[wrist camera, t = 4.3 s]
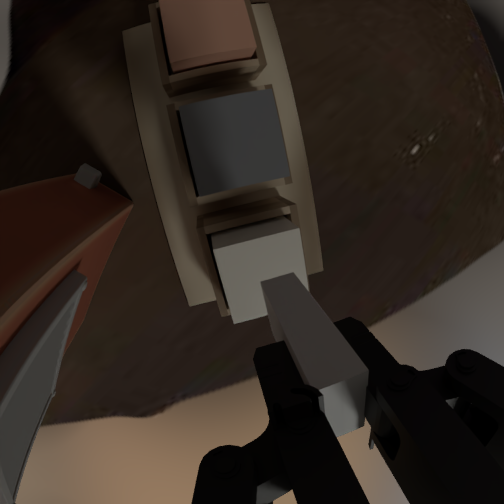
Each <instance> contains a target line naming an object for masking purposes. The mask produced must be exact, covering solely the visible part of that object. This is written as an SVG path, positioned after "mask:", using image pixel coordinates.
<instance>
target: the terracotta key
mask: <svg viewBox="0 0 504 504" xmlns="http://www.w3.org/2000/svg"><path fill="white" fill-rule="evenodd" d="M159 4H160V10H161V16H162V22H163V28H164V33H165V39H166V44H167V49H168V55H169V60H170V64H171V67H172V70H173V73H174V74H178V73H182V72H186V71H190V70H195V69H199V68H204V67H209V66H214V65H219V64H225V63H231V62H237V61H244V60H250V59H251V57H252V55H253V53H254V51H255V49H256V48H257V46H256V42H255V38H254V34H253V30H252V27H251V23H250V19H249V16H248V12H247V9H246V5H245V2H244V0H159Z"/></svg>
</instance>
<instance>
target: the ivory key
mask: <svg viewBox="0 0 504 504" xmlns="http://www.w3.org/2000/svg"><path fill="white" fill-rule="evenodd" d="M211 238H212V245H213V251H214V255H215V258H216V262H217V266H218V269H219V273H220V277H221V280H222V284H223V287H224V291H225V294H226V298H227V301H228V305H229V308H230V312H231V315H232V319H233V322H234V324H236V323H240V322H243V321H247V320H251V319H255V318H258V317H262V316H266V315H268V313H267V308H266V304H265V300H264V296H263V291H262V287H261V283H260V282H261V281H264V280H268V279H271V278H275V277H278V276H282V275H285V274H289V273H292V272H294V273H295V275H296V276H297V277H298V279H299V280H300V281H301V282H302V284H303V285H304V286H305V287H306V289H307V290H308V291H309V289H308V282H307V275H306V268H305V261H304V254H303V248H302V241H301V235H300V229H299V227H297V226H296V225H295V224H293V223H292V222H291V221H289V220H288V219H287V218H285V217H284V216H283V215H281V216H277V217H273V218H269V219H265V220H261V221H256V222H252V223H248V224H244V225H240V226H236V227H232V228H228V229H225V230H221V231H217V232H213V233H211Z"/></svg>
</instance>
